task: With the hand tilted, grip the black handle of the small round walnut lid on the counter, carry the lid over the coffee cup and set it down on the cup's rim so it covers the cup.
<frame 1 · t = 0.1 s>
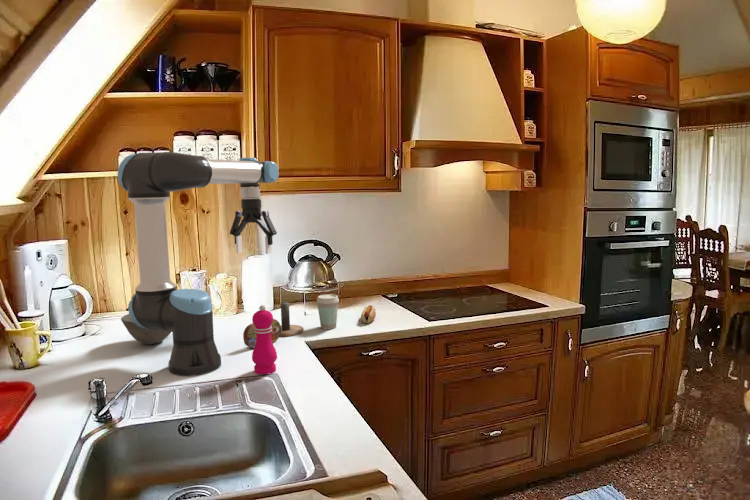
hand: (254, 253, 207), 28 cm above the countertop, tool pointing down, fingers open, 13 cm apart
walnut lid: (286, 332, 197), on the countertop
bowl: (153, 343, 187), on the countertop
food: (368, 320, 212), on the countertop
pepper mill: (265, 371, 157), on the countertop
tin: (262, 345, 182), on the countertop
coffee cup: (328, 327, 202), on the countertop
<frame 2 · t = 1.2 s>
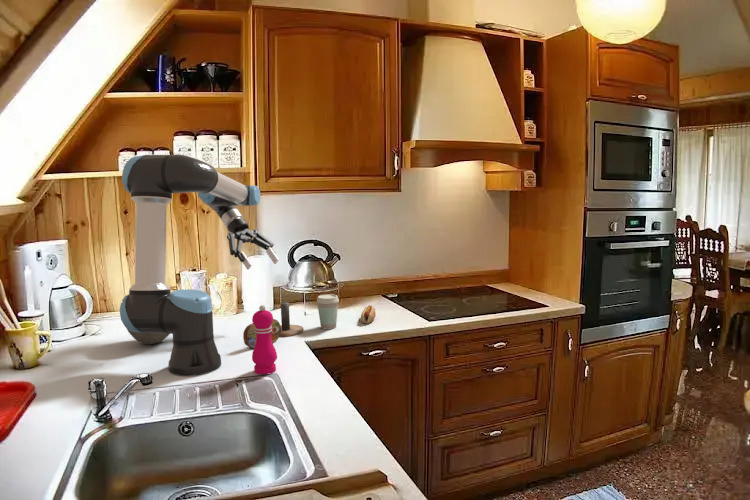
hand: (263, 264, 200), 24 cm above the countertop, tool tilted 45°, fingers open, 13 cm apart
nothing on the countertop moved.
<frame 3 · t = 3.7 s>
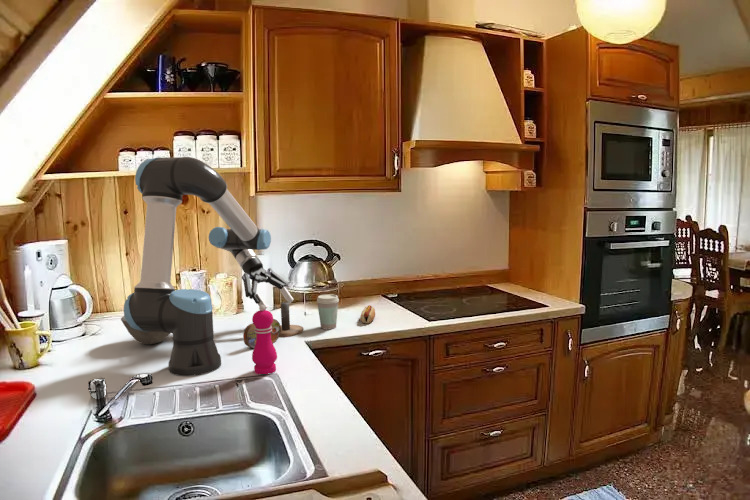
hand: (278, 305, 200), 9 cm above the countertop, tool tilted 45°, fingers open, 13 cm apart
nothing on the countertop moved.
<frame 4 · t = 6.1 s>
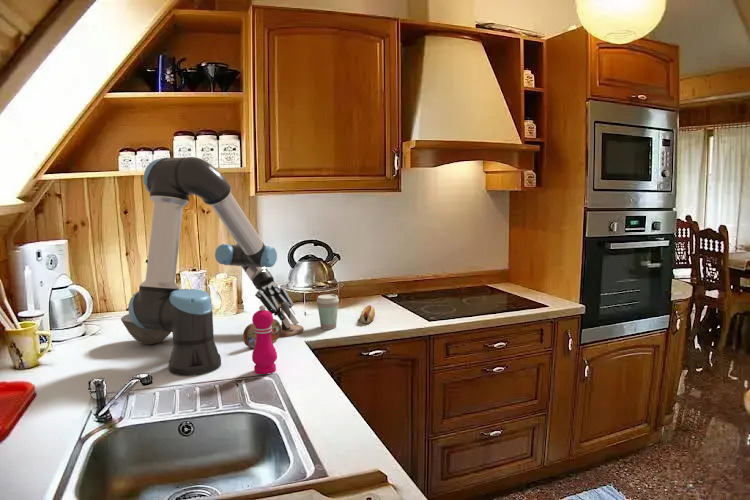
hand: (293, 324, 195), 3 cm above the countertop, tool tilted 45°, fingers closed on walnut lid, 3 cm apart
walnut lid: (286, 331, 197), on the countertop, touching gripper
everything else where it was.
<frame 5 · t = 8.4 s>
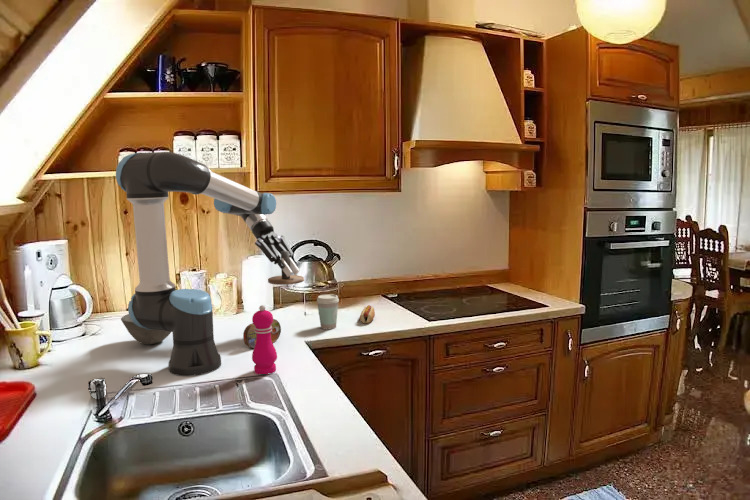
hand: (293, 273, 193), 22 cm above the countertop, tool tilted 45°, fingers closed on walnut lid, 3 cm apart
walnut lid: (286, 281, 195), point 19 cm above the countertop, touching gripper
everything else where it was.
when the fingers open (17 cm above the countertop, at t = 10.8 s): walnut lid drops 1 cm, resting on coffee cup.
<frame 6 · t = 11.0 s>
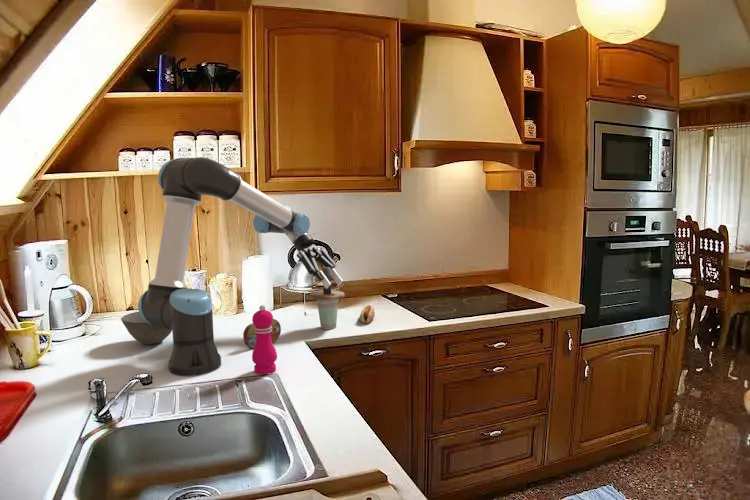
hand: (334, 284, 198), 17 cm above the countertop, tool tilted 45°, fingers open, 6 cm apart
walnut lid: (327, 296, 201), point 12 cm above the countertop, touching coffee cup
coffee cup: (328, 327, 202), on the countertop, touching walnut lid
everything else where it was.
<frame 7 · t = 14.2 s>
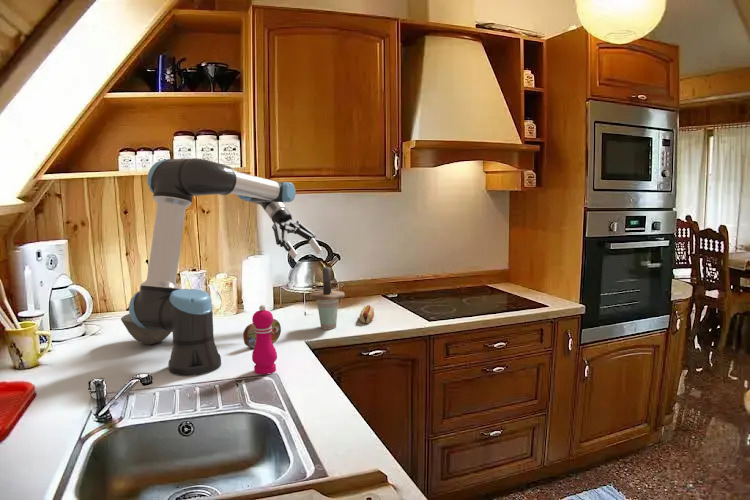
hand: (307, 254, 204), 27 cm above the countertop, tool tilted 45°, fingers open, 13 cm apart
nothing on the countertop moved.
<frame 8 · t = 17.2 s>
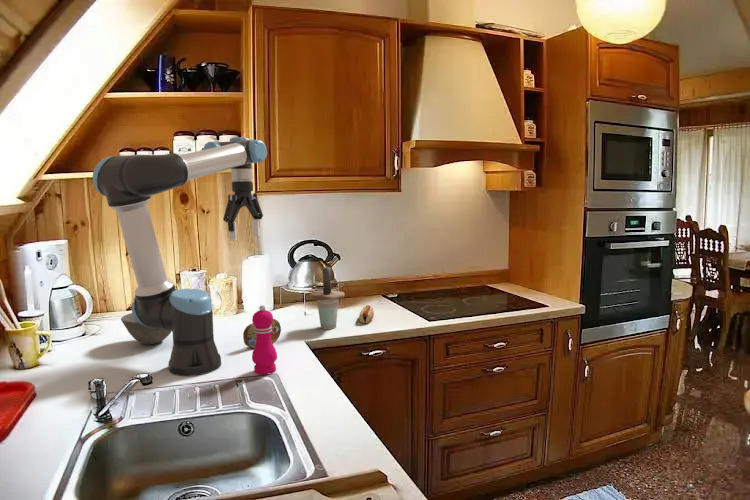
hand: (245, 238, 197), 35 cm above the countertop, tool pointing down, fingers open, 13 cm apart
nothing on the countertop moved.
at the end: walnut lid 0.1 cm from the coffee cup (horizontally); walnut lid point 12.0 cm above the countertop; walnut lid tilted 0° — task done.
